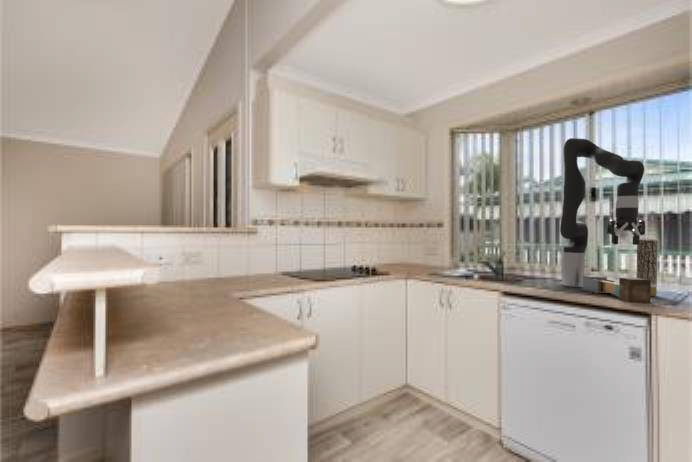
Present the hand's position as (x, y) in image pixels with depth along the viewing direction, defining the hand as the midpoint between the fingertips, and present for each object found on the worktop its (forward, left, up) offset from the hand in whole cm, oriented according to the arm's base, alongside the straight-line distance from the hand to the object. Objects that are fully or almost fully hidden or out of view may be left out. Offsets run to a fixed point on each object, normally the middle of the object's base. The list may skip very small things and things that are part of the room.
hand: (625, 244), depth 146 cm
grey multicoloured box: (-10, -4, -23) cm, 25 cm away
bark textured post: (-4, +13, -23) cm, 27 cm away
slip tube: (+2, -4, -21) cm, 22 cm away
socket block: (+10, -4, -23) cm, 25 cm away
